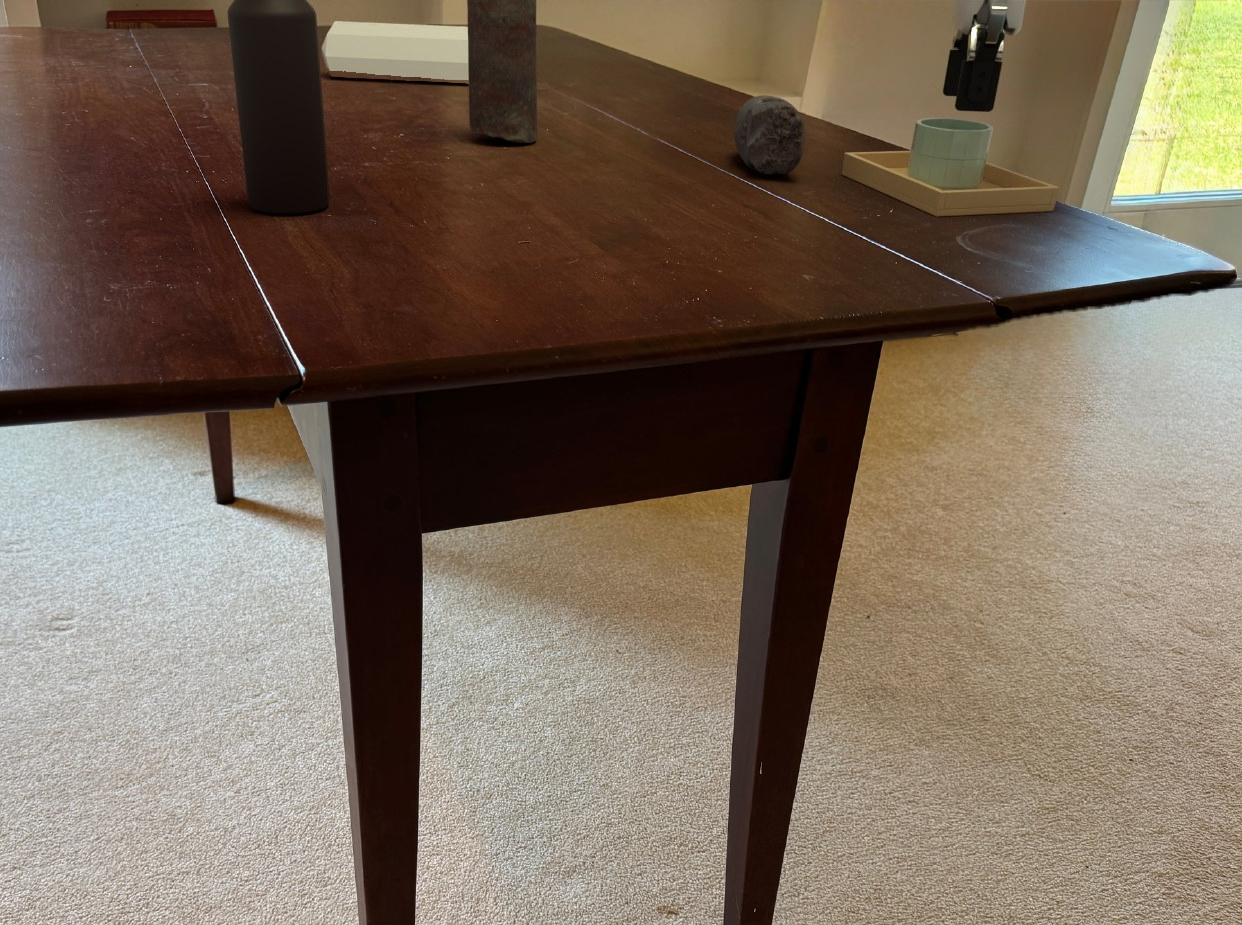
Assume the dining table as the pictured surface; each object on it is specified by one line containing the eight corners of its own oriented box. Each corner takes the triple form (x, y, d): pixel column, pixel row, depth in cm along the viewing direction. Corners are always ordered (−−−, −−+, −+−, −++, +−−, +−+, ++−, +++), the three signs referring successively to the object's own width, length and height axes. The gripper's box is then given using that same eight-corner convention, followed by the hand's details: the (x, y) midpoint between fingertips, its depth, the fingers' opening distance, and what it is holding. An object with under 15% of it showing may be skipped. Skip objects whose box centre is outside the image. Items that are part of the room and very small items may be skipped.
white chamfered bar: (494, 48, 160) (332, 41, 163) (487, 25, 153) (318, 18, 155) (490, 100, 161) (328, 92, 163) (482, 79, 154) (314, 71, 156)
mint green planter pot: (952, 176, 110) (965, 117, 107) (994, 192, 104) (1008, 130, 101) (891, 178, 108) (902, 118, 105) (930, 194, 102) (943, 132, 100)
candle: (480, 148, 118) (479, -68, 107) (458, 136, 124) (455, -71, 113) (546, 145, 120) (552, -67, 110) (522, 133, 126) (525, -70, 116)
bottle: (231, 209, 93) (199, -65, 83) (280, 193, 98) (255, -66, 88) (299, 220, 91) (275, -60, 80) (345, 203, 96) (328, -62, 86)
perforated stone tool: (720, 152, 120) (728, 82, 116) (768, 153, 120) (777, 83, 117) (749, 183, 107) (758, 106, 104) (802, 184, 107) (813, 107, 104)
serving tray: (946, 170, 115) (950, 149, 114) (1053, 211, 101) (1059, 187, 100) (840, 174, 112) (844, 152, 111) (936, 216, 98) (941, 192, 97)
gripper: (1075, -119, 85) (1025, 119, 94) (1035, -113, 100) (995, 92, 108) (973, -119, 86) (933, 115, 95) (948, -113, 101) (915, 89, 110)
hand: (966, 103), depth 102 cm, fingers open, 9 cm apart
